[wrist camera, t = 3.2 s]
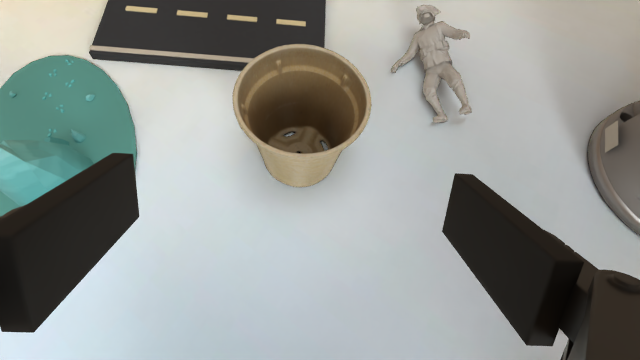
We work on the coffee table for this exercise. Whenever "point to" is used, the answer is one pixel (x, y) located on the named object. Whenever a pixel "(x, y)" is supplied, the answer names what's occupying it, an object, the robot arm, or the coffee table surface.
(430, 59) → the soldier figure
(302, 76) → the flower pot
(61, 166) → the diorama
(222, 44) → the road
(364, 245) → the coffee table surface
